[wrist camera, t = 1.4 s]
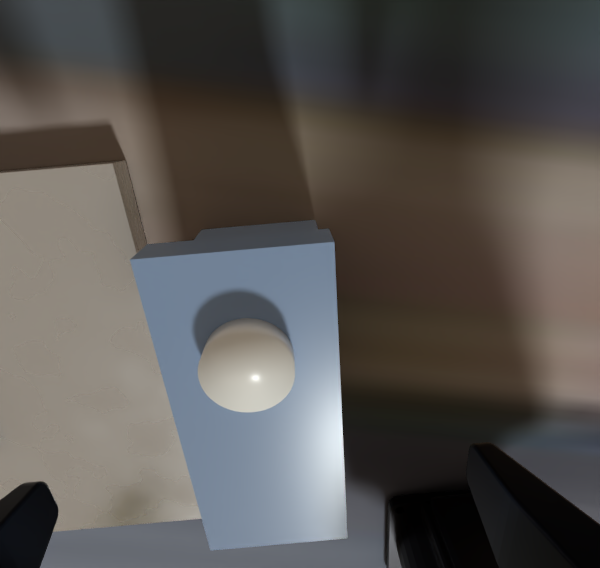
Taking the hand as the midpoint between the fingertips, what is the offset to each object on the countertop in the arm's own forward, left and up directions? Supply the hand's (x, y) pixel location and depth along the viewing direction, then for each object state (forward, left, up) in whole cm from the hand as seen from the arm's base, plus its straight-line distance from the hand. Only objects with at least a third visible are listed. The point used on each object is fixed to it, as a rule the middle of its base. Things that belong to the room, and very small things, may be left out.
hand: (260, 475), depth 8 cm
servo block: (0, 0, -7) cm, 7 cm away
